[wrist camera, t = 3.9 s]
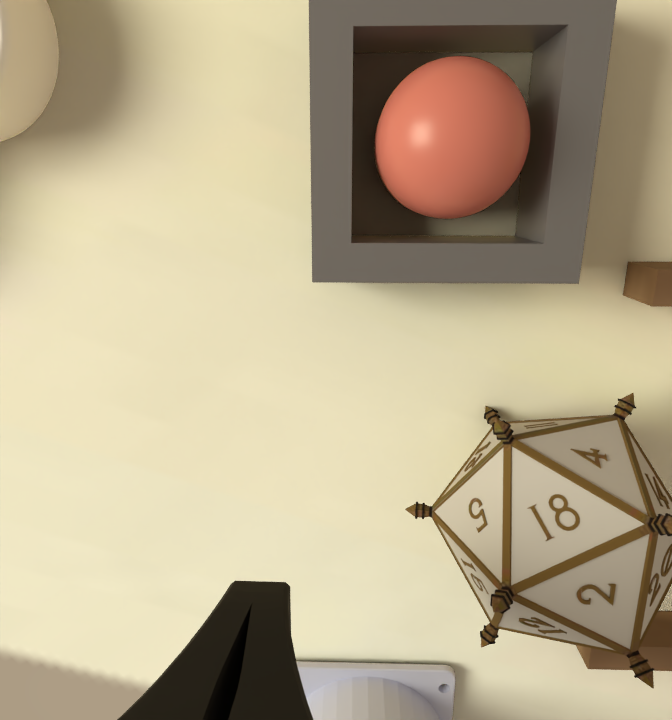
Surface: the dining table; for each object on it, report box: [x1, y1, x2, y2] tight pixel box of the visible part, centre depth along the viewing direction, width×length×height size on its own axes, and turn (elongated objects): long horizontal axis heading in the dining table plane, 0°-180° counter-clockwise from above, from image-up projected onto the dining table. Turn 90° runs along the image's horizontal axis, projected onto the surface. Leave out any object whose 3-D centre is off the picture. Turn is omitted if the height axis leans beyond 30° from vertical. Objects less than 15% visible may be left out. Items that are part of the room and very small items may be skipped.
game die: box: [405, 393, 672, 689], centre depth 18 cm, size 9×8×10 cm
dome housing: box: [309, 0, 617, 284], centre depth 17 cm, size 8×8×3 cm
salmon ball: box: [374, 56, 530, 219], centre depth 16 cm, size 4×4×4 cm
